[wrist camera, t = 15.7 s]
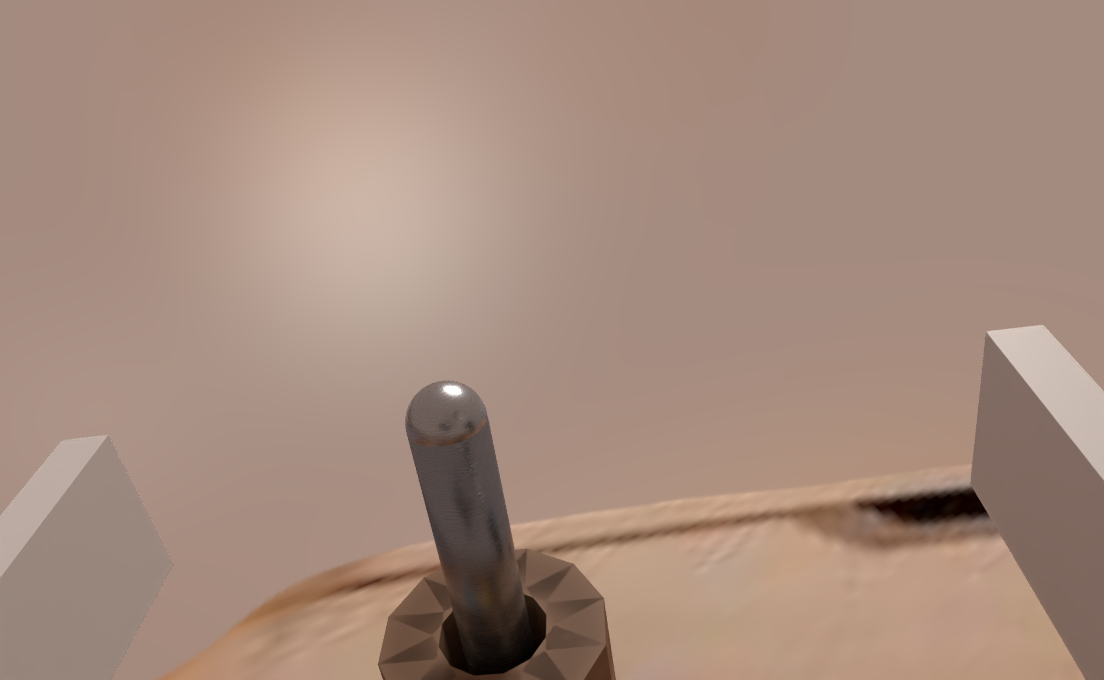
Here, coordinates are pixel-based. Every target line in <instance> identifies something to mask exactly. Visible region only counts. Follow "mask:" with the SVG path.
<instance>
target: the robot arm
mask: <svg viewBox="0 0 1104 680" xmlns="http://www.w3.org/2000/svg"><path fill="white" fill-rule="evenodd" d="M970 484H971V485H972V487H973V489H974V490H975V492H976V494H977V495H978V497H979V499H980V501H981V502H982V504H983V506H984V507H985V509H986V511H987V512H988V514H989V516H990V518H991V519H992V521H993V523H994V524H995V526H996V528H997V529H998V531H999V533H1000V535H1001V536H1002V538H1003V540H1004V541H1005V543H1006V545H1007V546H1008V548H1009V550H1010V552H1011V553H1012V555H1013V557H1014V558H1015V560H1016V562H1017V564H1018V565H1019V567H1020V569H1021V570H1022V572H1023V574H1024V575H1025V577H1026V579H1027V581H1028V582H1029V584H1030V586H1031V587H1032V589H1033V591H1034V592H1035V594H1036V596H1037V598H1038V599H1039V601H1040V603H1041V604H1042V606H1043V608H1044V609H1045V611H1046V613H1047V615H1048V616H1049V618H1050V620H1051V621H1052V623H1053V625H1054V626H1055V628H1056V630H1057V632H1058V633H1059V635H1060V637H1061V638H1062V640H1063V642H1064V643H1065V645H1066V647H1067V649H1068V650H1069V652H1070V654H1071V655H1072V657H1073V659H1074V660H1075V662H1076V664H1077V666H1078V667H1079V669H1080V671H1081V672H1082V674H1083V676H1084V677H1085V679H1086V680H1104V391H1103V390H1102V389H1101V388H1100V387H1099V386H1098V385H1097V383H1096V382H1095V381H1094V380H1093V379H1092V378H1091V377H1090V376H1089V375H1088V374H1087V372H1086V371H1085V370H1084V369H1083V368H1082V367H1081V366H1080V365H1079V364H1078V363H1077V362H1076V360H1075V359H1074V358H1073V357H1072V356H1071V355H1070V354H1069V353H1068V352H1067V351H1066V349H1065V348H1064V347H1063V346H1062V345H1061V344H1060V343H1059V342H1058V341H1057V340H1056V339H1055V337H1054V336H1053V335H1052V334H1051V333H1050V332H1049V331H1048V330H1047V329H1046V328H1045V326H1043V325H1038V326H1030V327H1021V328H1012V329H1004V330H995V331H987V332H986V338H985V347H984V357H983V366H982V377H981V386H980V396H979V406H978V415H977V424H976V434H975V444H974V453H973V463H972V472H971V482H970ZM173 565H174V564H173V562H172V560H171V558H170V556H169V554H168V552H167V550H166V548H165V546H164V544H163V542H162V540H161V538H160V536H159V534H158V532H157V530H156V528H155V526H154V524H153V522H152V520H151V518H150V516H149V514H148V512H147V510H146V508H145V506H144V504H143V502H142V500H141V498H140V497H139V494H138V493H137V491H136V489H135V487H134V485H133V483H132V481H131V479H130V477H129V475H128V473H127V471H126V469H125V467H124V465H123V463H122V461H121V459H120V457H119V455H118V453H117V451H116V449H115V447H114V445H113V443H112V441H111V439H110V437H109V435H104V436H94V437H86V438H78V439H69V440H62V441H61V442H60V444H59V445H58V446H57V447H56V448H55V450H54V451H53V452H52V453H51V455H50V456H49V457H48V458H47V459H46V461H45V462H44V463H43V464H42V466H41V467H40V468H39V469H38V470H37V472H36V473H35V474H34V475H33V476H32V478H31V479H30V480H29V482H27V484H26V485H25V486H24V487H23V489H22V490H21V491H20V492H19V493H18V495H17V496H16V497H15V498H14V500H13V501H12V502H11V503H10V504H9V506H8V507H7V508H6V509H5V510H4V512H3V513H2V514H1V515H0V680H111V679H112V678H113V676H114V674H115V672H116V670H117V668H118V667H119V665H120V663H121V661H122V659H123V657H124V655H125V654H126V652H127V650H128V648H129V646H130V644H131V642H132V641H133V639H134V637H135V635H136V633H137V631H138V630H139V628H140V626H141V624H142V622H143V620H144V618H145V616H146V614H147V613H148V611H149V609H150V607H151V605H152V604H153V602H154V600H155V598H156V596H157V594H158V592H159V590H160V588H161V587H162V585H163V583H164V581H165V579H166V577H167V576H168V574H169V572H170V570H171V568H172V566H173Z"/></svg>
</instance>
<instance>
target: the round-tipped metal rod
mask: <svg viewBox="0 0 1104 680" xmlns="http://www.w3.org/2000/svg"><path fill="white" fill-rule="evenodd" d="M405 425H406V432H407V436H408V440H409V444H410V448H411V451H412V455H413V459H414V463H415V467H416V470H417V474H418V478H419V482H420V486H421V490H422V494H423V497H424V501H425V505H426V509H427V513H428V517H429V520H430V524H431V528H432V532H433V536H434V540H435V543H436V547H437V551H438V555H439V559H440V563H441V567H442V570H443V574H444V578H445V582H446V586H447V590H448V593H449V597H450V601H451V605H452V609H453V613H454V616H455V620H456V624H457V628H458V632H459V636H460V639H461V643H462V647H463V651H464V655H465V659H466V662H467V666H468V670H469V674H471V675H473V676H478V675H490V674H502V673H506V672H507V671H509V670H511V669H513V668H515V667H517V666H518V665H520V664H522V663H524V662H526V661H528V660H529V659H531V658H532V656H533V655H534V653H535V648H534V643H533V638H532V633H531V628H530V623H529V618H528V613H527V608H526V603H525V598H524V593H523V588H522V584H521V579H520V574H519V569H518V564H517V559H516V554H515V549H514V544H513V539H512V534H511V529H510V524H509V520H508V514H507V509H506V505H505V500H504V495H503V490H502V485H501V480H500V475H499V470H498V466H497V460H496V455H495V450H494V445H493V440H492V436H491V431H490V426H489V421H488V416H487V411H486V408H485V405H484V403H483V401H482V400H481V398H480V397H479V396H478V394H477V393H476V392H475V391H474V390H472V389H471V388H470V387H468V386H466V385H464V384H462V383H458V382H454V381H439V382H435V383H432V384H430V385H428V386H426V387H424V388H423V389H421V390H420V391H419V392H418V393H417V394H416V395H415V396H414V398H413V399H412V401H411V402H410V404H409V406H408V409H407V413H406V419H405Z"/></svg>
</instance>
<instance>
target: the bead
mask: <svg viewBox="0 0 1104 680" xmlns="http://www.w3.org/2000/svg"><path fill="white" fill-rule="evenodd" d="M515 554H516V559H517V564H518V569H519V574H520V579H521V584H522V588H523V593H524V598H525V603H526V608H527V613H528V618H529V623H530V628H531V633H532V638H533V643H534V648H535V653H534V655H533V656H532V658H531V659H529V660H528V661H526V662H524V663H522V664H520V665H518V666H517V667H515V668H513V669H511V670H509V671H507V672H506V673H502V674H490V675H478V676H473V675H471V674H469V670H468V666H467V662H466V659H465V655H464V651H463V647H462V643H461V639H460V636H459V632H458V628H457V624H456V620H455V616H454V613H453V609H452V605H451V601H450V597H449V593H448V590H447V586H446V582H445V578H444V574H443V570H442V569H441V570H439V571H437V572H435V573H433V574H431V575H429V576H427V577H425V578H423V579H422V580H421V581H420V583H419V584H418V585H417V586H416V587H415V588H414V589H413V590H412V592H411V593H410V594H409V595H408V596H407V597H406V598H405V599H404V600H403V602H402V603H401V604H400V605H399V606H398V607H397V608H396V609H395V610H394V612H393V613H392V614H391V615H390V616H389V617H388V622H387V626H386V631H385V635H384V640H383V644H382V649H381V653H380V658H379V662H378V666H379V669H380V672H381V675H382V678H383V680H616V678H615V672H614V665H613V658H612V651H611V644H610V638H609V631H608V624H607V617H606V611H605V604H604V598H603V597H602V596H601V594H600V593H599V592H598V591H597V590H596V589H595V588H594V586H593V585H592V584H591V583H590V582H589V581H588V580H587V579H586V577H585V576H584V575H583V574H582V573H581V572H580V571H579V569H578V568H577V567H576V566H575V565H574V564H572V563H569V562H566V561H563V560H560V559H557V558H554V557H550V556H547V555H544V554H541V553H538V552H535V551H532V550H529V549H520V550H515Z"/></svg>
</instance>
